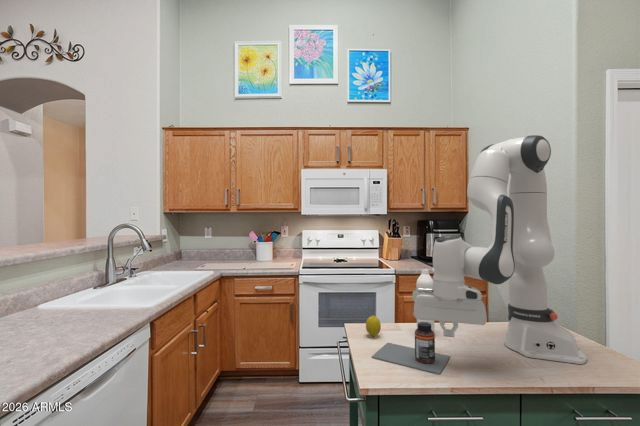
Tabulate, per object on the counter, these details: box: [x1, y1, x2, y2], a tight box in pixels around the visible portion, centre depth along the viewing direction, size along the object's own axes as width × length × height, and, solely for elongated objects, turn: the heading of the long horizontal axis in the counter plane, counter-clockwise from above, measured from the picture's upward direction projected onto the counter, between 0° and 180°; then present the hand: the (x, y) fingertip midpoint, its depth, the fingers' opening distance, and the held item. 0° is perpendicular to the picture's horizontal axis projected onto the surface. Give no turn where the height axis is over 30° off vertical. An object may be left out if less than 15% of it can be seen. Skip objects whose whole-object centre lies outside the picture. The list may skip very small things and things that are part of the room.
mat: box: [371, 342, 451, 376], centre depth 103 cm, size 21×14×1 cm, turn 57°
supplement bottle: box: [414, 322, 436, 364], centre depth 100 cm, size 6×6×11 cm
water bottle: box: [415, 268, 436, 335], centre depth 123 cm, size 9×6×25 cm
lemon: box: [365, 314, 382, 338], centre depth 121 cm, size 6×6×8 cm
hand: (448, 336), depth 96 cm, fingers closed
